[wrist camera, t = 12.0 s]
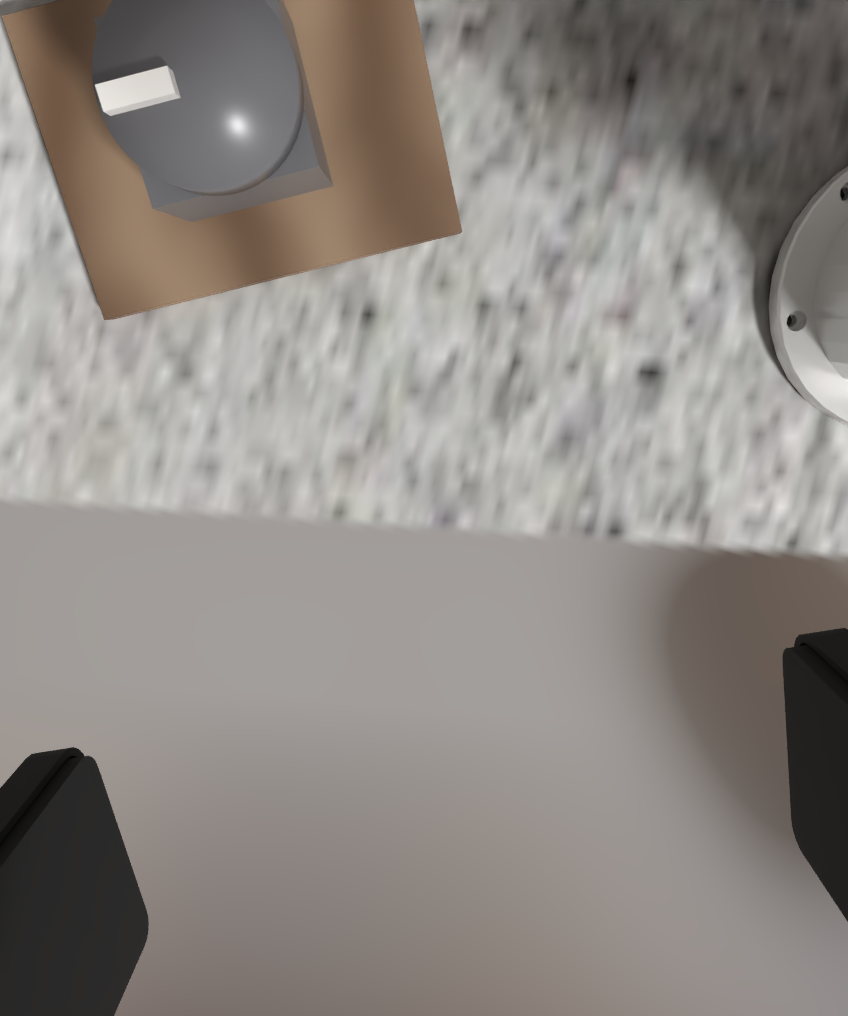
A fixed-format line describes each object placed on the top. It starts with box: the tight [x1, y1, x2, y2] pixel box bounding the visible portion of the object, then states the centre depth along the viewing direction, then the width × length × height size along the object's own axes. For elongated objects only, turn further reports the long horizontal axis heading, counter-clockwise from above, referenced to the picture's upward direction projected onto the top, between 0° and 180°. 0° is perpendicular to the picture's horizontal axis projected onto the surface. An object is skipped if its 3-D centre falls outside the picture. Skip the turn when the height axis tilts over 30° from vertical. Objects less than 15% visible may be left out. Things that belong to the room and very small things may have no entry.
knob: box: [92, 0, 333, 222], centre depth 28 cm, size 7×7×7 cm
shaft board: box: [2, 0, 462, 320], centre depth 30 cm, size 16×12×6 cm
